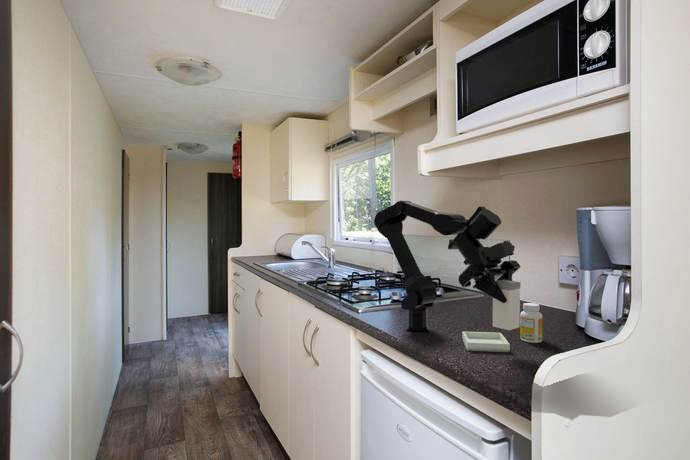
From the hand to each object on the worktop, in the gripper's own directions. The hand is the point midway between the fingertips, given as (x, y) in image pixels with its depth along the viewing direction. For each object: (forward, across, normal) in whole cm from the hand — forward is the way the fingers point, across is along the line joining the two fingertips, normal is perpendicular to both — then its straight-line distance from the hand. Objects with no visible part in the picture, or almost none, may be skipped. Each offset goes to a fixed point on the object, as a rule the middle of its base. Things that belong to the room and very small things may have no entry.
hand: (511, 300), depth 96 cm
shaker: (+4, 0, +6) cm, 7 cm away
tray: (+4, +1, +15) cm, 16 cm away
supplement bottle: (+7, +15, +12) cm, 20 cm away
